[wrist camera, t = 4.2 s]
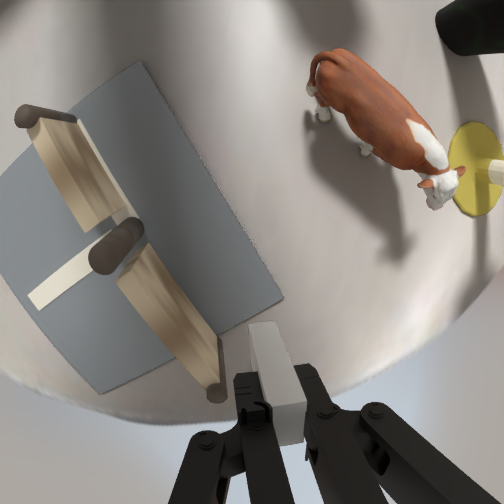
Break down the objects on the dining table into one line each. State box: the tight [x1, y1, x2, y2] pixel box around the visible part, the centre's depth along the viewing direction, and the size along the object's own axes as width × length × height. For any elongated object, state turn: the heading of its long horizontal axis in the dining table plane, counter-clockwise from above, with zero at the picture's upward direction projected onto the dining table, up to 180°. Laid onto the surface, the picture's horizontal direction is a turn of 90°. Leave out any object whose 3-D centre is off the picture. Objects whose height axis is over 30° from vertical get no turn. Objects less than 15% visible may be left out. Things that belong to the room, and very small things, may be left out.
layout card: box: [0, 60, 284, 395], centre depth 23 cm, size 22×21×1 cm
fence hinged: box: [115, 242, 227, 403], centre depth 21 cm, size 11×1×7 cm, turn 30°
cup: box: [435, 0, 504, 56], centre depth 15 cm, size 8×8×12 cm
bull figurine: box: [306, 48, 466, 210], centre depth 19 cm, size 4×13×8 cm, turn 48°
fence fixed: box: [14, 104, 144, 275], centre depth 17 cm, size 11×2×7 cm, turn 30°
